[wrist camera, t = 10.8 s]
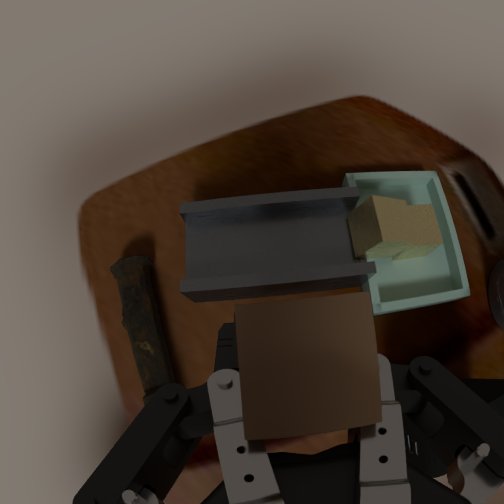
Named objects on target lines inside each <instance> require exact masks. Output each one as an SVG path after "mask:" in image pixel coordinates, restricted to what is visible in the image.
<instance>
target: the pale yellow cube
mask: <svg viewBox="0 0 504 504" xmlns="http://www.w3.org/2000/svg"><path fill="white" fill-rule="evenodd" d="M347 218H348V223H349V228H350V232H351V237H352V243H353V248H354V253H355V258H390V257H391V256H393V255H395V254H397V253H399V252H401V251H403V250H405V249H406V248H408V247H410V246H412V245H414V244H416V243H417V240H416V236H415V232H414V229H413V225H412V221H411V217H410V214H409V210H408V207H407V203H406V200H401V199H394V198H388V197H381V196H375V195H371V196H370V197H369V198H368V199H366V200H365V201H364V202H363V203H362V204H360V205H359V206H358V207H357V208H356V209H354V210H353V211H352V212H351V213H350V214H348V215H347Z"/></svg>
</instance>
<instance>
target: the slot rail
mask: <svg viewBox="0 0 504 504" xmlns="http://www.w3.org/2000/svg"><path fill="white" fill-rule="evenodd" d="M359 198H360V192H359V189H358V186H357V187H341V188H326V189H313V190H300V191H288V192H277V193H267V194H256V195H247V196H237V197H228V198H220V199H211V200H203V201H195V202H188V203H180V215H181V216H182V218H183V219H184V221H185V223H186V280H180V293H182V294H183V295H185V296H186V297H188V298H189V299H190V300H192V301H193V302H195V303H196V302H210V301H222V300H235V299H246V298H257V297H268V296H278V295H288V294H298V293H307V292H316V291H325V290H334V289H342V288H350V287H358V286H362V285H363V284H364V283H366V282H367V281H368V280H369V279H370V278H371V277H372V276H374V275H375V274H376V273H377V271H376V266H375V261H370V262H367V259H366V258H355V253H354V248H353V243H352V237H351V232H350V228H349V223H348V218H347V215H348V214H350V213H351V212H352V211H353V210H354V209H356V204H357V202H358V200H359Z"/></svg>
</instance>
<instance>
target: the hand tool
mask: <svg viewBox="0 0 504 504" xmlns="http://www.w3.org/2000/svg"><path fill="white" fill-rule="evenodd" d="M152 265H153V262H152V261H151V260H150V259H149V258H147V257H146V256H143V255H135V256H130V257H127V258H121V259H119V260H118V261H117V262H116V263H115V264H114V265H113V266H111V267H110V271H111V272H112V274H113V276H114V278H115V279H116V281H117V283H118V287H119V293H120V298H121V302H122V311H123V313H122V316H123V321H122V324H123V326H124V327H125V329H126V330H127V331H128V334H129V338H130V342H131V346H132V350H133V354H134V357H135V361H136V365H137V368H138V371H139V375H140V378H141V381H142V384H143V388H144V392H145V396H144V397H143V401H144V404H145V405H146V404H147V402H148V401H149V400H150V399H151V397H152V396H153V395H154V393H155V392H156V391H157V390H158V389H159V388H160V387H162V386H163V385H166V384H170V383H176V380H175V377H174V373H173V369H172V364H171V361H170V357H169V352H168V347H167V344H166V341H165V338H164V334H163V330H162V326H161V320H160V315H159V309H158V305H157V302H156V299H155V295H154V292H153V287H152V283H151V277H150V269H151V267H152Z"/></svg>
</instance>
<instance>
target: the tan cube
mask: <svg viewBox="0 0 504 504" xmlns="http://www.w3.org/2000/svg"><path fill="white" fill-rule="evenodd" d="M407 207H408V210H409V214H410V217H411V221H412V225H413V229H414V232H415V236H416V240H417V243H416V244H414V245H412V246H410V247H408V248H406V249H405V250H403V251H401V252H399V253H397V254H395V255H393V256H392V261H395V260H403V259H411V258H418V257H426V256H427V255H429V254H430V253H431V252H433V251H434V250H435V249H436V248H438V247H439V246H440V245H442V244H443V240H442V236H441V232H440V229H439V225H438V222H437V218H436V215H435V212H434V208H433V205H432V204H422V205H407Z"/></svg>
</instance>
